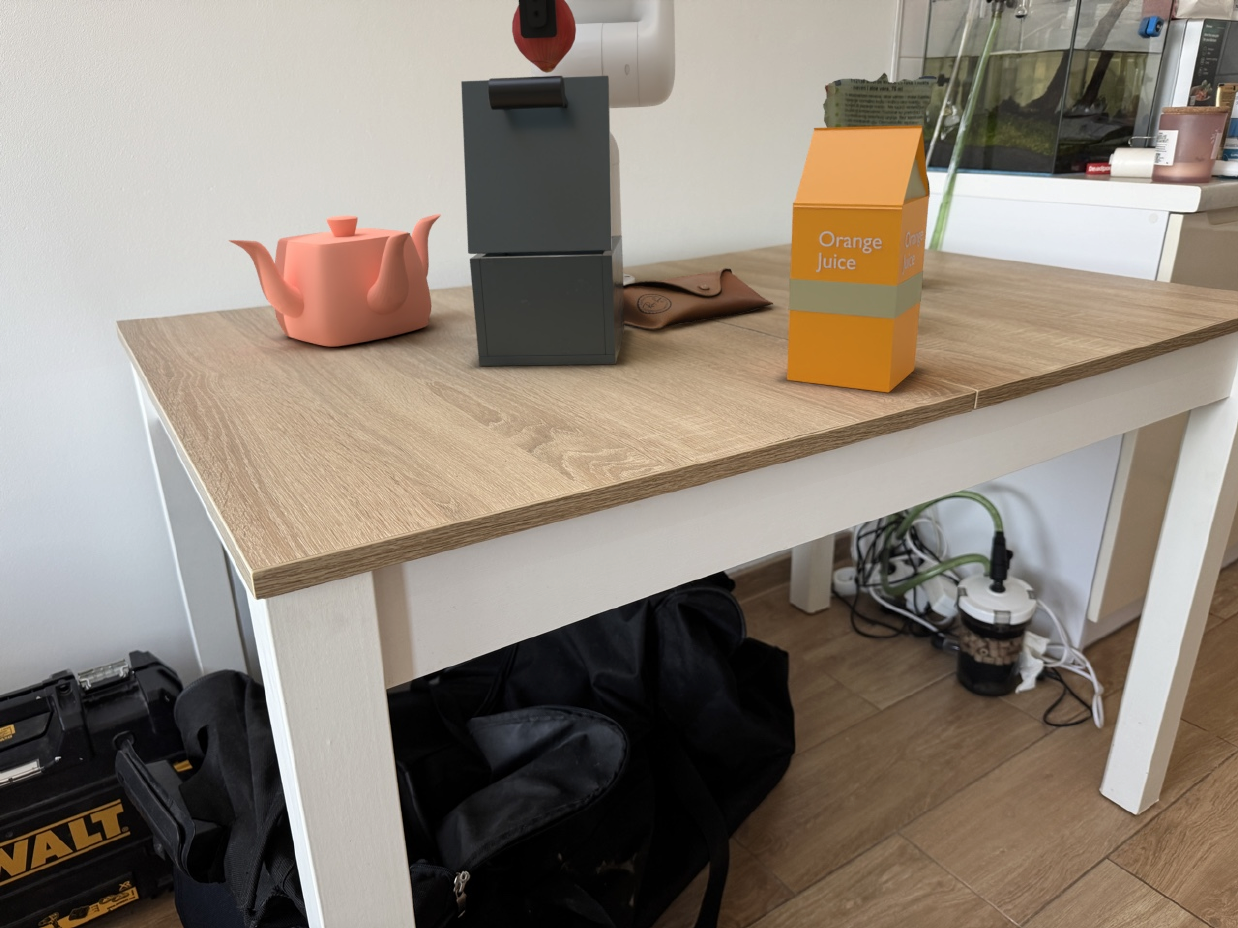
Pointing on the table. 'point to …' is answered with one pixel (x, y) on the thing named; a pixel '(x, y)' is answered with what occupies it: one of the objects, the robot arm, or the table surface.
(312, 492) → the table surface
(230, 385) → the table surface
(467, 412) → the table surface
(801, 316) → the orange juice
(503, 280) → the dark box
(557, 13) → the onion
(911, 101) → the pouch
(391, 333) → the pot
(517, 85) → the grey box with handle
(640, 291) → the sunglasses case
